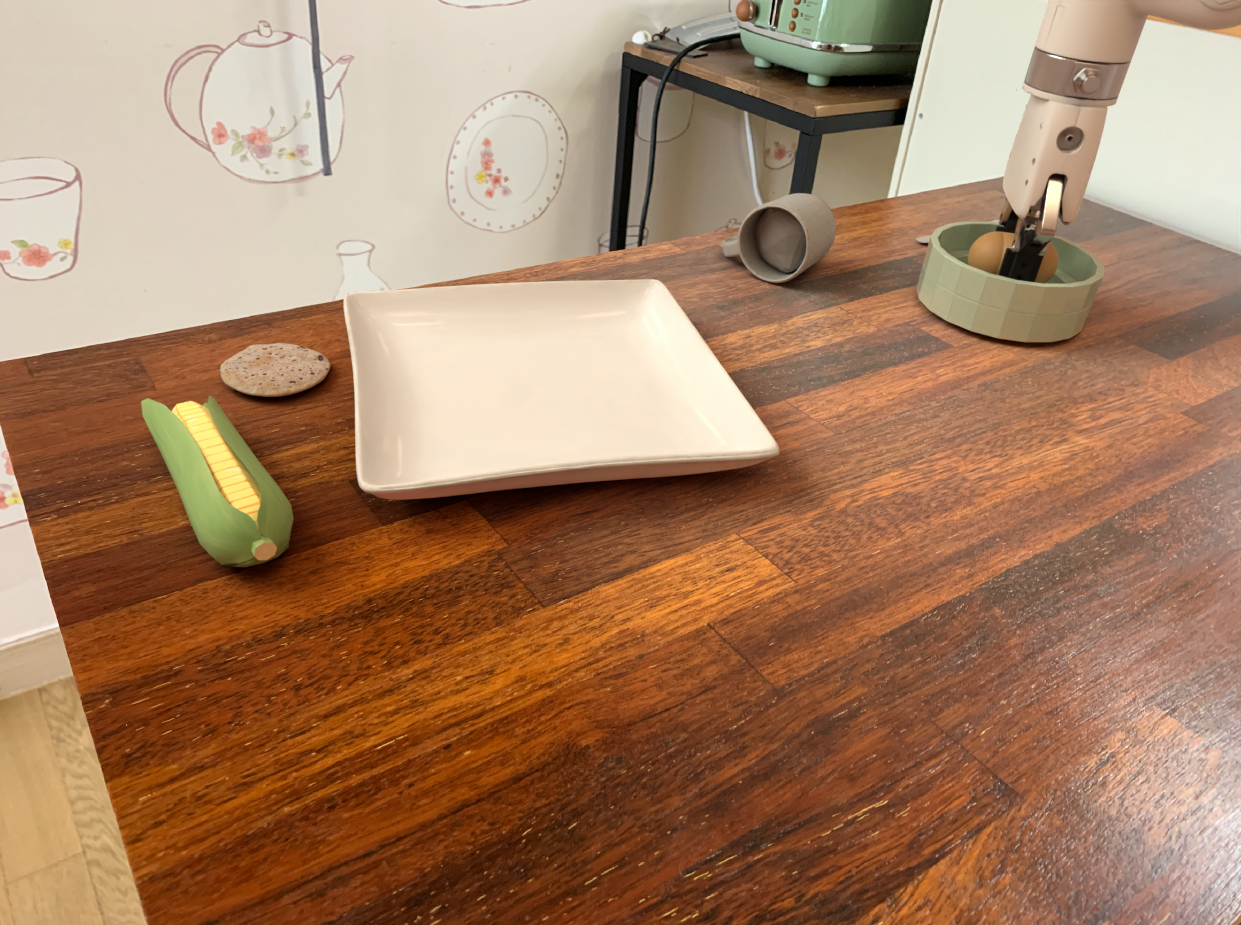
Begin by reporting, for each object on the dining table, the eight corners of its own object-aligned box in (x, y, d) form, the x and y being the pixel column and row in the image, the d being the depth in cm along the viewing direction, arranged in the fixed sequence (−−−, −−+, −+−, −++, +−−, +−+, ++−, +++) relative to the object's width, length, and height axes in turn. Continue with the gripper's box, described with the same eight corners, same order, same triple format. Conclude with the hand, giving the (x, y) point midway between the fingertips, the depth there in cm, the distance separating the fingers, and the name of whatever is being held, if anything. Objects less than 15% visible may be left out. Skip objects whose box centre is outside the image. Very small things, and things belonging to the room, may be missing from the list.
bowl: (1061, 289, 95) (1082, 233, 92) (1098, 359, 83) (1124, 297, 79) (909, 268, 97) (924, 212, 93) (922, 334, 84) (940, 272, 81)
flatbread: (350, 377, 71) (349, 365, 70) (261, 414, 66) (259, 402, 65) (288, 340, 75) (286, 328, 74) (199, 371, 70) (197, 360, 69)
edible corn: (223, 603, 51) (208, 538, 48) (136, 427, 64) (120, 369, 61) (316, 570, 53) (307, 508, 51) (214, 408, 66) (202, 351, 64)
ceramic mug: (833, 267, 95) (848, 193, 91) (801, 293, 90) (815, 215, 85) (741, 242, 100) (751, 170, 95) (704, 264, 94) (713, 189, 90)
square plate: (363, 539, 56) (357, 487, 54) (346, 330, 77) (341, 287, 75) (777, 491, 63) (787, 443, 61) (657, 311, 84) (661, 271, 82)
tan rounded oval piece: (1042, 279, 90) (1059, 232, 87) (1053, 300, 86) (1071, 251, 83) (958, 268, 90) (972, 220, 88) (964, 288, 87) (979, 239, 84)
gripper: (1151, 107, 70) (1066, 325, 81) (1096, 61, 84) (1030, 252, 94) (1048, 95, 71) (978, 312, 81) (1010, 52, 85) (954, 242, 95)
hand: (1006, 278), depth 88 cm, fingers closed on tan rounded oval piece, 4 cm apart
